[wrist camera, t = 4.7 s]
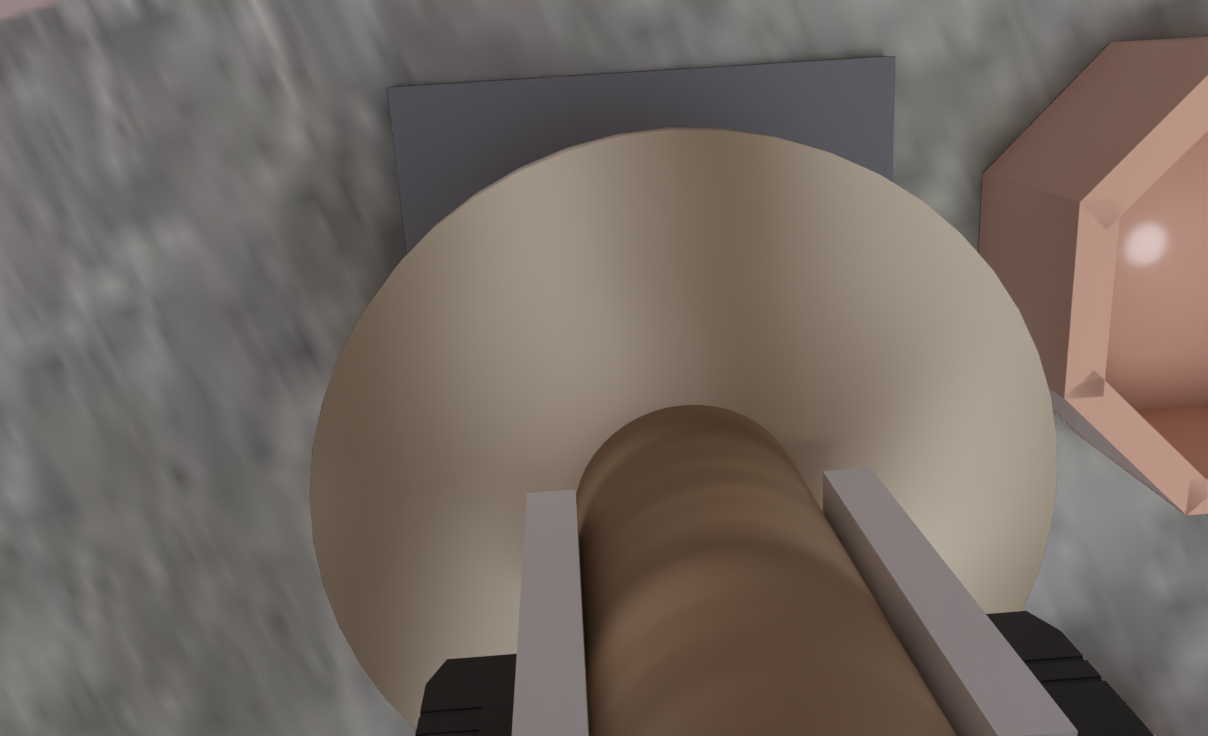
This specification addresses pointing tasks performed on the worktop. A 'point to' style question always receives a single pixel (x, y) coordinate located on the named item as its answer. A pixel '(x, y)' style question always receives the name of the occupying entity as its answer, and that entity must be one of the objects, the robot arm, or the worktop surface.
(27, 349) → the worktop surface
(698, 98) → the mat
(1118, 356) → the bowl
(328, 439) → the disc with center post
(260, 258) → the worktop surface
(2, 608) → the worktop surface
